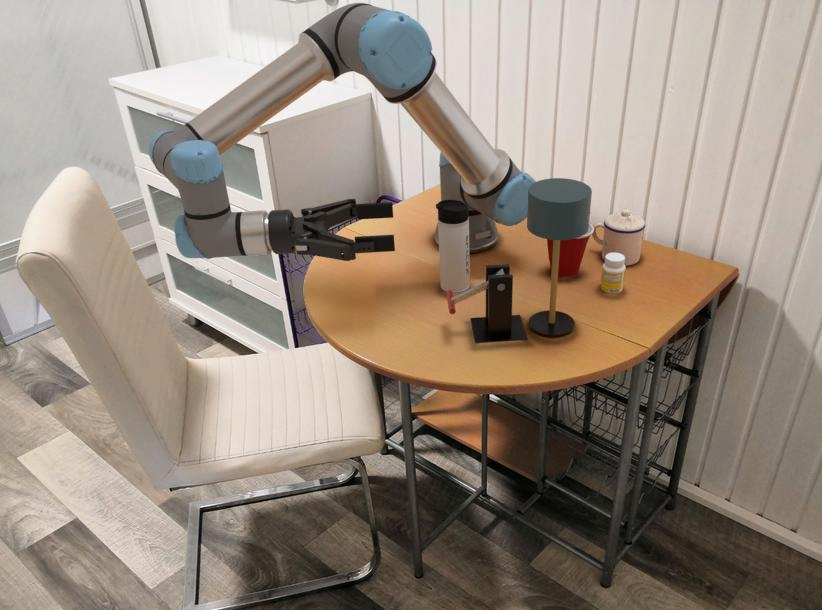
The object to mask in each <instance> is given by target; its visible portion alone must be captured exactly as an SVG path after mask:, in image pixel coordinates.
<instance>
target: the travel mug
mask: <svg viewBox="0 0 822 610" xmlns="http://www.w3.org/2000/svg"><path fill="white" fill-rule="evenodd" d="M435 209H436V210H437V223H438V234H439V246H438V252H439V253H438V255H439V279H440V282H439V283H440V288H441V290H442V291H444V292H445V293H446V292H447V291H448V290H451V291H452V292H453V294H461V293H463V292H465V291H467V290H469V289H470V286H471V277H470V275H471V274H470V273H471V272H470V271H471V270H470V268H471V266H470V253H469V215H468V213H469V212H468V206H467V205H466V204H464V203H463V202H461V201H457V200H443V201H441V200H440V201H439V202H437V203H436V204H435Z"/></svg>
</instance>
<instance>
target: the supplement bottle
mask: <svg viewBox="0 0 822 610" xmlns="http://www.w3.org/2000/svg"><path fill="white" fill-rule="evenodd" d="M624 263H625V256H624V255H622V254H620V253H608V254H607V255H606V256H605V260H604V263H603V265H602V269H601V280H600V289H601V291H603V292H605V293H607V294H619V293H621V292H623V291H624V286H625V278H626V277H625V276H626V269H627V268H626V267H627V266H625V265H624Z"/></svg>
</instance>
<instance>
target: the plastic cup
mask: <svg viewBox="0 0 822 610" xmlns="http://www.w3.org/2000/svg"><path fill="white" fill-rule="evenodd" d="M593 226H594V224H592V223H590V222H589V229H588V231H587V233H586V234H584V235H583V236H581V237H578V238H575V239H570V240H560V250H559V266H558V277H563V278H570V277H574V276H576V275H578V274H579V273H580V272H579V271H580V269H581V264H582V262H583V258H584V256H585V250H586V248H587V245H588V242H589V239H590V237H591V236H592V233H593V231H594V227H593ZM546 243H547V244H546V245H547V252H548V254H547V255H548V262H549V267H550V273H551V274H552V257H553V240H550V239H546Z"/></svg>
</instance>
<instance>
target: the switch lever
mask: <svg viewBox="0 0 822 610" xmlns="http://www.w3.org/2000/svg"><path fill="white" fill-rule="evenodd" d="M491 275H505V273H504V271H503V269H500V270H498V271H496V272H494V273H492V274H490V275H489V276H491ZM486 289H488V281H486V280H485V281H484V282H482V283H480V284H478V285H476V286H474V287H473V286H472V287H471V288H468V289H467V290H466V291H464V292H460V293H457V295H454V293H453V292H452V291H451V290H448V291H447V292H446V291H445V294H446V300H447V306H448V313H449V314H450V315H454V314H456V312H457V310H456V304H458V303H460V302H462V301H465V300H467V299H469V298H471V297H473V296H475V295H477V294H480V293H481V292H484V291H486Z"/></svg>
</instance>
